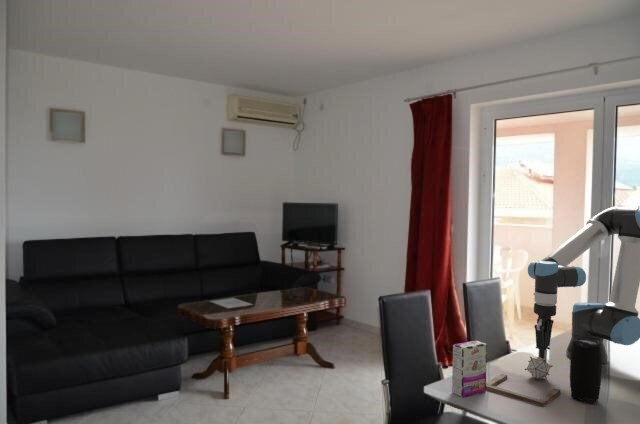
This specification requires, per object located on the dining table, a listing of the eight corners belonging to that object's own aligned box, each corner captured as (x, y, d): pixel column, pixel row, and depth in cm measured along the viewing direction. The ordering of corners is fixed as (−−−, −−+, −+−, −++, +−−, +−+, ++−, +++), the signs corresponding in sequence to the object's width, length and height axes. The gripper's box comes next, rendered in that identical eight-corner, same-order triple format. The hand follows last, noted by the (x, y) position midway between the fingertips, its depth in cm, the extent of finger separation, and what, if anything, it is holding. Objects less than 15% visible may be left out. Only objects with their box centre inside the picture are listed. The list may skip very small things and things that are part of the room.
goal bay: (501, 377, 176) (501, 373, 176) (560, 393, 162) (560, 389, 162) (482, 388, 164) (482, 384, 164) (543, 406, 151) (543, 403, 151)
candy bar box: (474, 387, 165) (476, 339, 165) (486, 392, 161) (488, 343, 161) (450, 392, 160) (452, 343, 160) (461, 398, 156) (463, 347, 155)
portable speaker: (604, 400, 157) (607, 341, 156) (591, 407, 151) (593, 345, 151) (577, 391, 164) (580, 334, 163) (563, 398, 158) (566, 338, 158)
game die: (543, 390, 174) (558, 374, 168) (520, 380, 175) (534, 364, 169) (542, 370, 181) (556, 354, 175) (520, 361, 182) (533, 345, 176)
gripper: (540, 299, 185) (537, 359, 186) (528, 304, 176) (525, 367, 177) (561, 302, 180) (558, 365, 181) (549, 308, 171) (546, 373, 172)
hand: (542, 366), depth 179 cm, fingers closed
